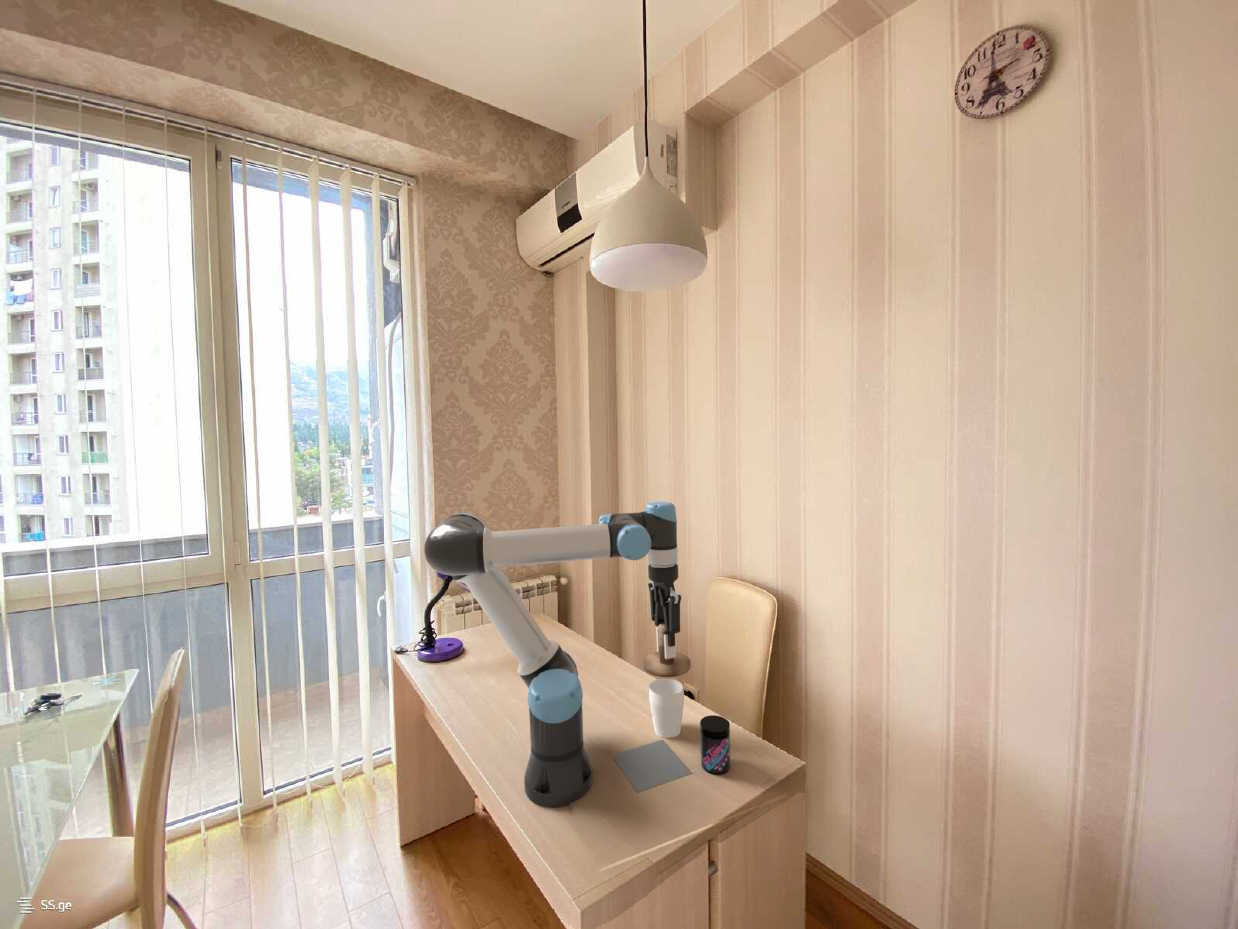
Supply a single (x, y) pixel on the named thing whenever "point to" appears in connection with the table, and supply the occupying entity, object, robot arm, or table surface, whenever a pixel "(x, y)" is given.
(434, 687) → the table surface
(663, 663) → the lid
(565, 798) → the robot arm
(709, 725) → the supplement container
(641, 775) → the mat
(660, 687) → the cup
